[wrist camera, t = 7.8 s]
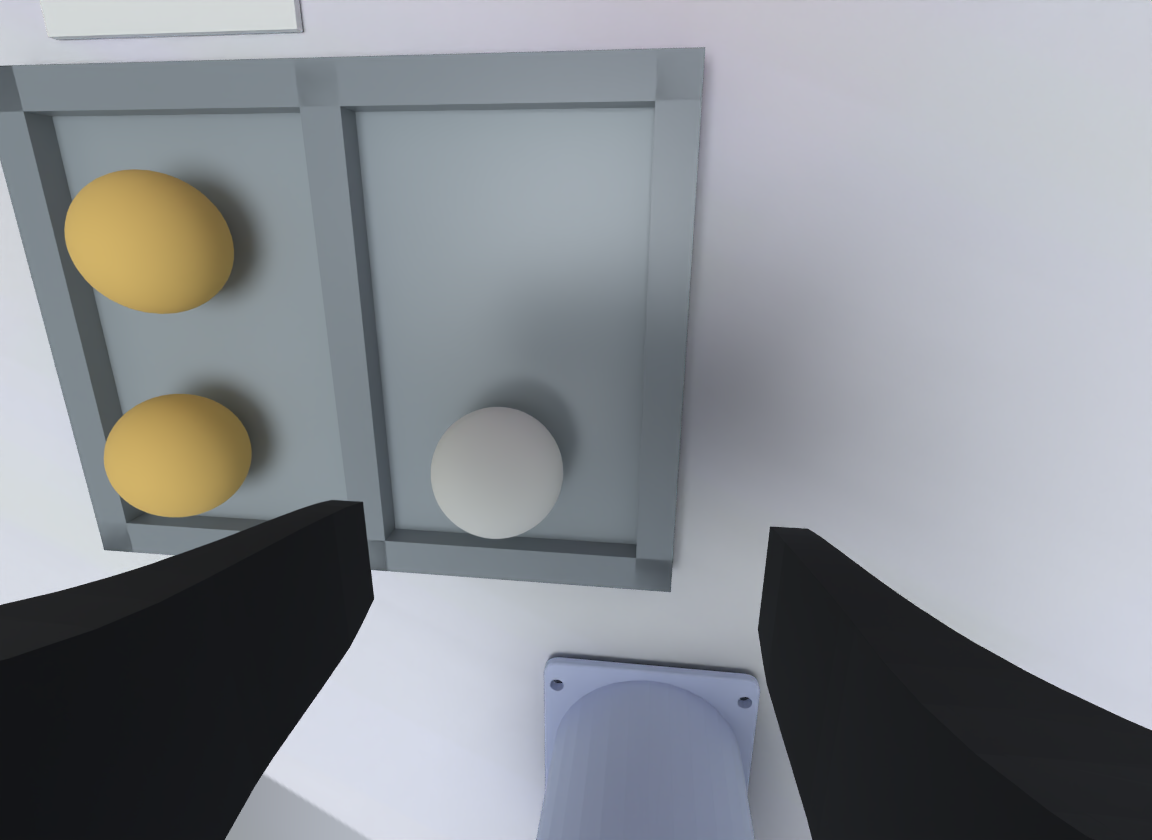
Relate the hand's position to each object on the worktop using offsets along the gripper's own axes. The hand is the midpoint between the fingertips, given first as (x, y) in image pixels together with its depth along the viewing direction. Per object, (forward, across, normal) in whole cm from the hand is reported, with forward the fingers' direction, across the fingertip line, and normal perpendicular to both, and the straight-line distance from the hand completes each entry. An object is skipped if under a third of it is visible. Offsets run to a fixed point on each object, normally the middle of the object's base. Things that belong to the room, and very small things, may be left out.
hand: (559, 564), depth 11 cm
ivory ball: (+9, +3, +2) cm, 10 cm away
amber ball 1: (+9, +13, -5) cm, 17 cm away
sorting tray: (+10, +8, -2) cm, 13 cm away
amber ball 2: (+9, +14, +2) cm, 17 cm away
